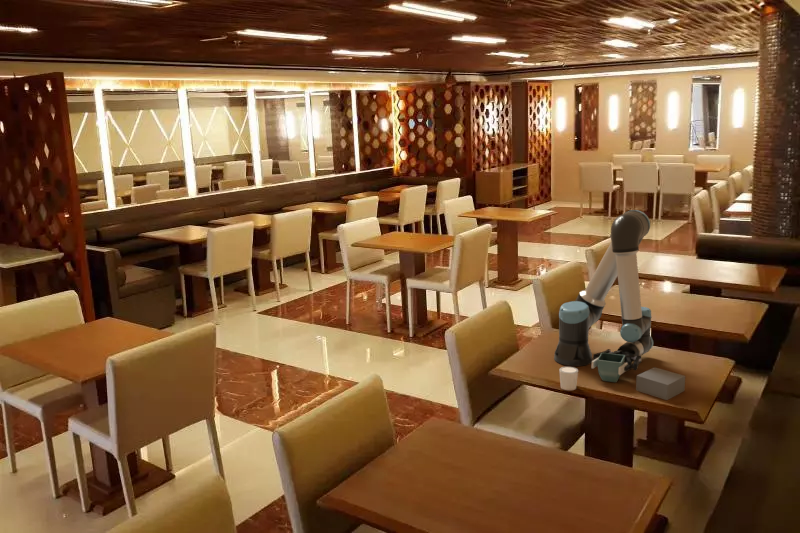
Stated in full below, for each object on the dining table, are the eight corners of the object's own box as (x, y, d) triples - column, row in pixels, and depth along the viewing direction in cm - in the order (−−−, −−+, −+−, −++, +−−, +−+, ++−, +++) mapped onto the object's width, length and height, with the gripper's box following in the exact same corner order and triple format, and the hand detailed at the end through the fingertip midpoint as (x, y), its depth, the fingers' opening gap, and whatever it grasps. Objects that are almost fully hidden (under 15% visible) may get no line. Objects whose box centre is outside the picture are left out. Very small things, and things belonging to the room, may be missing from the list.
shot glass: (576, 383, 251) (576, 366, 249) (579, 391, 244) (579, 373, 243) (557, 383, 252) (558, 366, 250) (560, 391, 245) (560, 373, 243)
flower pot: (596, 382, 252) (596, 359, 250) (600, 374, 259) (601, 352, 257) (620, 385, 248) (621, 362, 246) (624, 377, 255) (625, 355, 253)
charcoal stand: (635, 391, 243) (636, 375, 242) (653, 382, 251) (654, 367, 249) (666, 401, 234) (667, 384, 233) (684, 391, 242) (685, 375, 240)
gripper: (658, 366, 259) (634, 384, 243) (603, 354, 274) (577, 370, 257) (659, 348, 257) (635, 365, 241) (603, 337, 272) (578, 352, 256)
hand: (605, 368), depth 249 cm, fingers closed on flower pot, 10 cm apart
